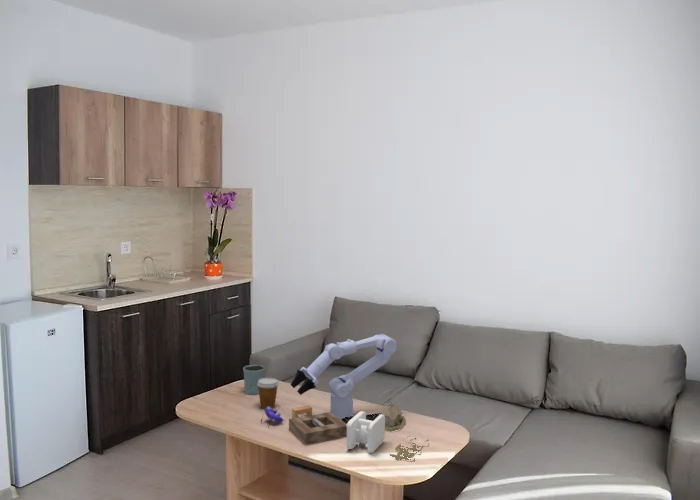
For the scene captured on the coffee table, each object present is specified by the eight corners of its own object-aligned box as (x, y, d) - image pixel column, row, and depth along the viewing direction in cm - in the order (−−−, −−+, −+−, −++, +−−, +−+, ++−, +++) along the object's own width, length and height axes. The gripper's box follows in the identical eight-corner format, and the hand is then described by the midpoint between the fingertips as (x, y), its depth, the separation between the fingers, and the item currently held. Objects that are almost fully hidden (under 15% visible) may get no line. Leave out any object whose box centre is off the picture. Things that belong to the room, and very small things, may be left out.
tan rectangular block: (309, 416, 265) (309, 405, 264) (312, 418, 262) (312, 407, 262) (292, 419, 261) (292, 408, 261) (294, 422, 259) (295, 410, 258)
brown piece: (330, 422, 259) (330, 411, 259) (348, 436, 245) (348, 425, 245) (288, 429, 250) (289, 419, 250) (305, 444, 236) (305, 433, 236)
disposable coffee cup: (282, 405, 277) (282, 380, 276) (268, 412, 269) (269, 385, 268) (266, 401, 282) (266, 376, 281) (252, 407, 274) (252, 381, 273)
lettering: (410, 434, 249) (410, 432, 249) (434, 440, 245) (434, 437, 244) (386, 458, 227) (386, 456, 227) (412, 465, 222) (412, 462, 222)
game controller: (291, 414, 257) (273, 415, 250) (284, 430, 259) (266, 432, 252) (278, 401, 264) (260, 402, 257) (271, 417, 265) (253, 418, 258)
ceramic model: (394, 434, 249) (395, 410, 247) (370, 428, 254) (371, 405, 253) (409, 423, 260) (410, 400, 259) (386, 417, 266) (387, 395, 265)
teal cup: (240, 394, 290) (240, 369, 289) (247, 387, 300) (247, 363, 299) (260, 396, 288) (261, 371, 287) (267, 389, 298) (267, 365, 297)
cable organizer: (370, 456, 228) (371, 426, 226) (344, 451, 232) (345, 421, 231) (384, 441, 241) (385, 413, 240) (360, 436, 245) (361, 408, 244)
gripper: (306, 354, 265) (283, 377, 262) (319, 366, 252) (296, 390, 249) (315, 365, 268) (293, 387, 265) (329, 377, 255) (306, 401, 252)
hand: (295, 389), depth 257 cm, fingers open, 7 cm apart
